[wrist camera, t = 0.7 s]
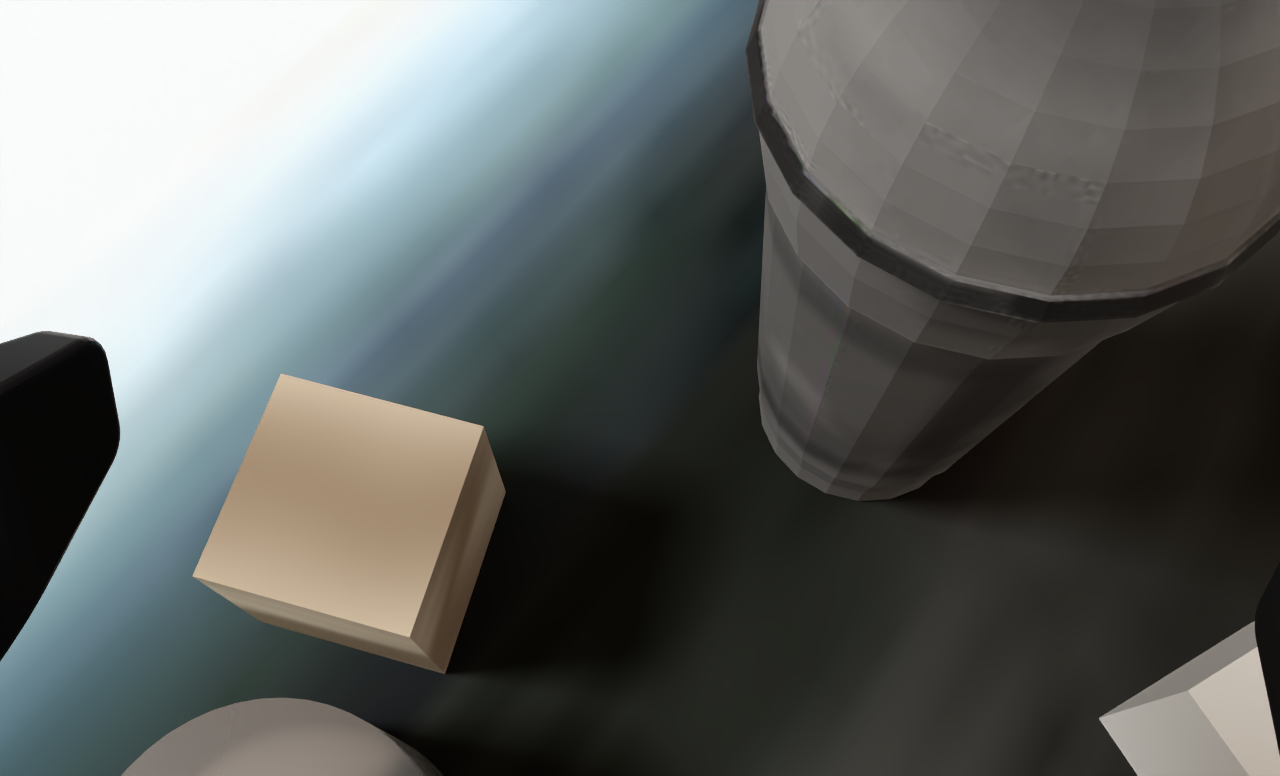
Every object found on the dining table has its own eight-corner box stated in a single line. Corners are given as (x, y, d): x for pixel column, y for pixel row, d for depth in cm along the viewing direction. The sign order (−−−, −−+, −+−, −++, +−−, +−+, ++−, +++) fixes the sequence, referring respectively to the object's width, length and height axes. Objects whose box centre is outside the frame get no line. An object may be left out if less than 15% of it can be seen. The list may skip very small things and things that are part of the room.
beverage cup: (1016, 275, 26) (1908, -1081, 8) (1031, 580, 24) (2461, -438, 5) (708, 249, 27) (883, -1130, 8) (685, 548, 24) (874, -536, 5)
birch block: (445, 674, 23) (409, 637, 19) (261, 622, 23) (192, 575, 20) (506, 493, 24) (483, 426, 21) (333, 447, 25) (280, 373, 21)
